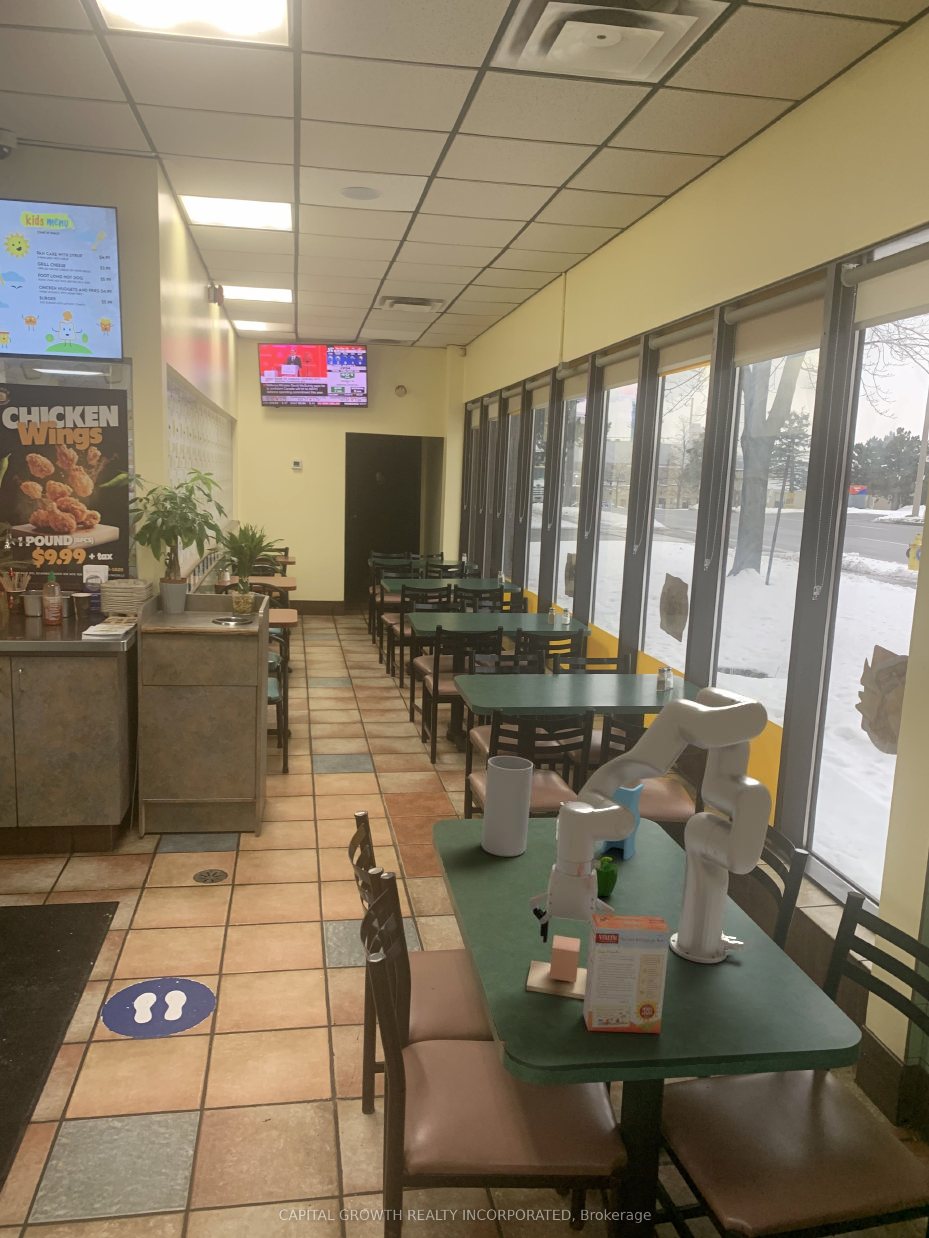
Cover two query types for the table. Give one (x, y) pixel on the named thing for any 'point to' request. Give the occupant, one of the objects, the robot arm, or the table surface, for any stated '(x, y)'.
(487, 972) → the table surface
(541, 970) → the post
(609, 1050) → the table surface
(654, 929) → the cracker box
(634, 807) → the light blue tall piece
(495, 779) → the cylinder vase
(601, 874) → the bell pepper
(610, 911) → the robot arm
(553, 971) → the pale pink upright block
